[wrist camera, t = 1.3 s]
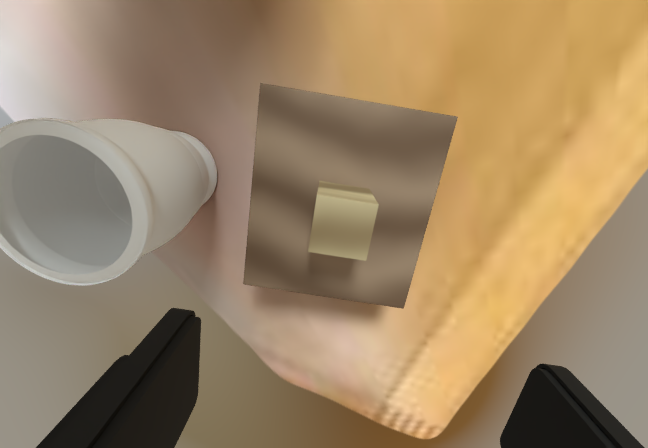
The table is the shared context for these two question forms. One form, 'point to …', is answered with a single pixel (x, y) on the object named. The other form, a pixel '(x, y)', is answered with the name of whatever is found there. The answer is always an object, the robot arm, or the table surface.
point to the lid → (341, 194)
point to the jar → (96, 194)
